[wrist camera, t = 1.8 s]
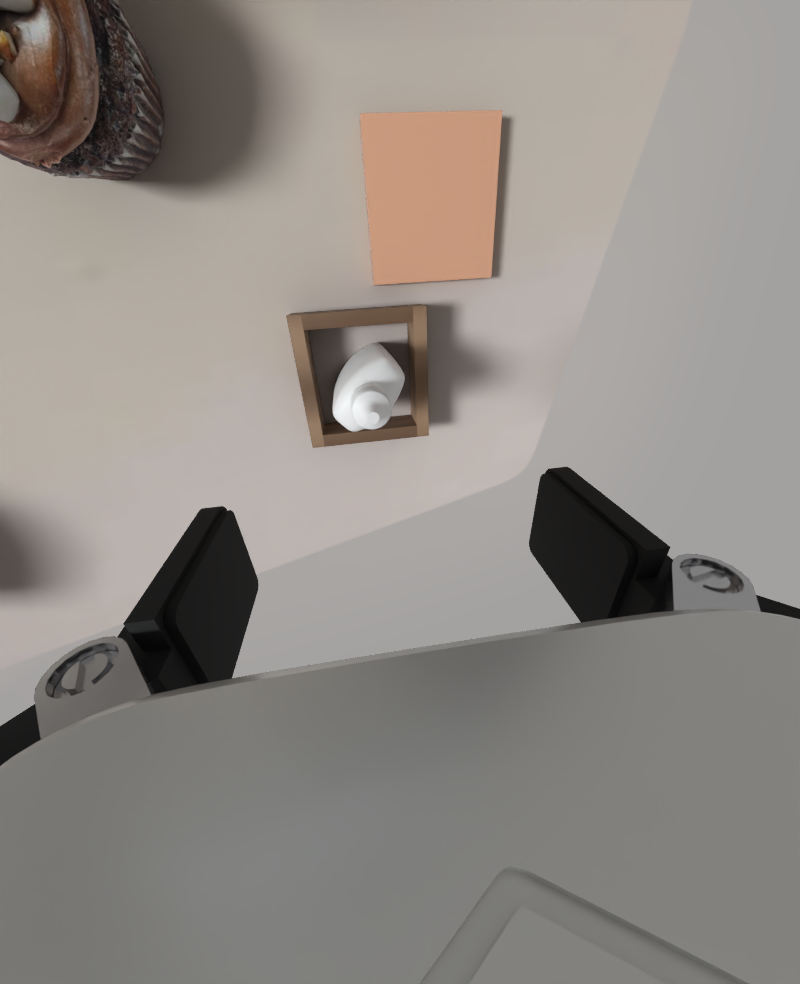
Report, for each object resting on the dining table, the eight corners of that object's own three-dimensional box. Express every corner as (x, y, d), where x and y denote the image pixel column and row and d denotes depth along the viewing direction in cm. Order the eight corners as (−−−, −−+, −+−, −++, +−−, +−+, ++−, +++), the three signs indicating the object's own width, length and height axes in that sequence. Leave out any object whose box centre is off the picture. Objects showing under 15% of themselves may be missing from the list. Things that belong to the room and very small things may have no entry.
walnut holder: (291, 313, 27) (286, 315, 24) (418, 304, 28) (426, 305, 25) (315, 435, 32) (312, 447, 29) (422, 424, 33) (428, 435, 30)
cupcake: (173, 227, 23) (74, 190, 15) (-9, 148, 20) (-264, 44, 12) (189, 29, 19) (64, -181, 11) (-36, -105, 16) (-455, -540, 8)
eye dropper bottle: (401, 388, 31) (429, 437, 20) (341, 407, 31) (339, 466, 21) (387, 337, 28) (411, 363, 18) (322, 358, 29) (310, 396, 18)
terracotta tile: (359, 120, 22) (360, 113, 21) (496, 117, 23) (502, 110, 22) (373, 285, 26) (374, 284, 26) (486, 277, 27) (491, 277, 26)
